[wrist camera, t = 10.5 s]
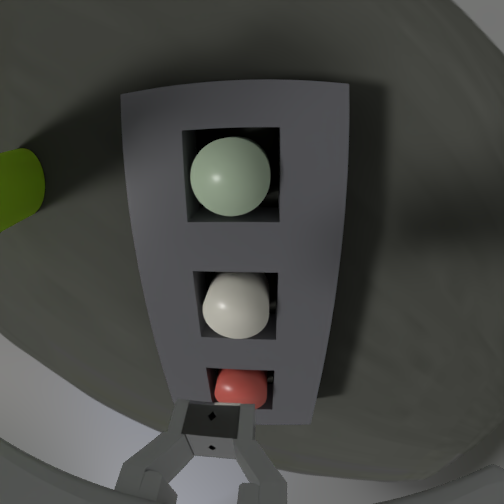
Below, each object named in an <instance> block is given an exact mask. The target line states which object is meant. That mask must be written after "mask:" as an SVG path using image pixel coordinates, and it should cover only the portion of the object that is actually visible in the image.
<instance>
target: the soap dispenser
mask: <svg viewBox="0 0 504 504" xmlns="http://www.w3.org/2000/svg"><path fill="white" fill-rule="evenodd" d="M44 194H45V178H44V173H43V169H42V166H41V164H40V162H39V160H38V158H37V157H36V155H35V154H34V153H33V152H31V151H30V150H28V149H25V148H19V149H15V150H11V151H7V152H3V153H0V232H2V231H3V230H5V229H7V228H9V227H11V226H12V225H14V224H16V223H18V222H20V221H21V220H23V219H25V218H27V217H29V216H31V215H33V214H34V213H36V212H37V211H38V209H39V208H40V206H41V204H42V202H43V199H44Z"/></svg>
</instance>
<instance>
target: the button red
mask: <svg viewBox="0 0 504 504" xmlns="http://www.w3.org/2000/svg"><path fill="white" fill-rule="evenodd" d="M267 375H268V370H239V369H220V368H219V373H218V378H217V383H216V388H215V397H216V399H217V401H218V402H221V403H241V404H255V409H257V408H259V407H261V406H262V405H263V404H264V403H265V402H266V399H267Z"/></svg>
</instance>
